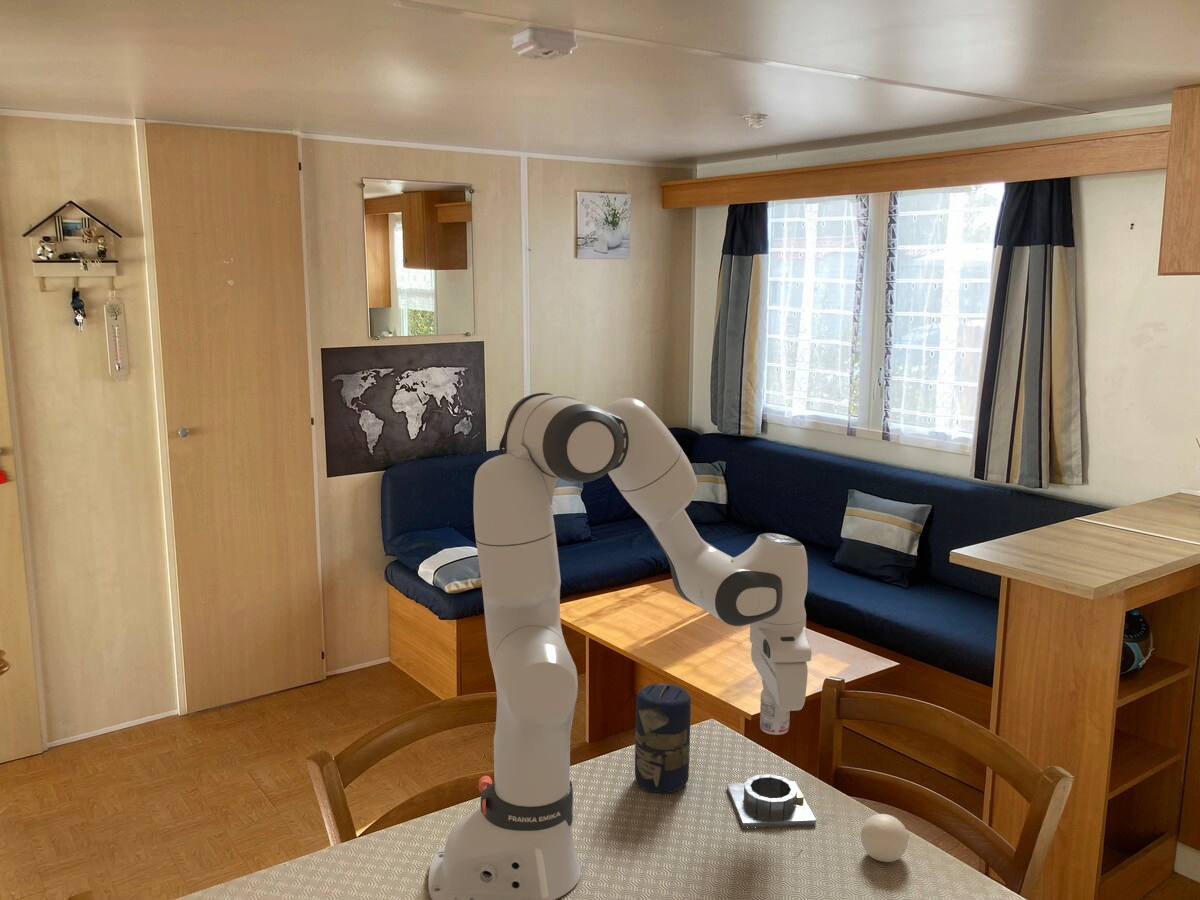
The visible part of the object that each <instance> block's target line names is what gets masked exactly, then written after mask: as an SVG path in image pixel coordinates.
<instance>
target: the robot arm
mask: <svg viewBox="0 0 1200 900" xmlns="http://www.w3.org/2000/svg"><path fill="white" fill-rule="evenodd" d="M505 421H506V422H505V426H504V432H503V435H502V437H501V440H500V443H499V445H498V446H499V447H498V448H499V449H498V450H499V453H500V454H499V455H496V456H493V457H491V458H489V459H488V460H486V461H485V462H484V463H482V464H481V465H480V466H479V467H478V469H477V471H476V473H475V476H474V483H473V503H472V504H473V524H474V525H473V526H474V534H475V535H474V536H475V544H476V552H477V559H478V564H479V572H480V573H479V574H480V580H481V581H480V582H481V589H482V599H483V609H484V610H483V611H484V618H485V619H484V620H485V621H484V622H485V629H486V639H487V640H486V641H487V647H488V648H487V650H488V656H489V659H490V663H491V668H492V671H493V676H494V681H495V688H496V719H495V728H494V729H495V730H494V735H493V768H494V769H493V770H494V771H493V774H494V775H493V776H494V779H493V780H494V781H493V780H492V778H491V777H490V776H489V775H483V776H481V777H480V779H479V780H478V791H479V793H480V806H478V808H475V810H473V811H472V812H470V813H469V814H467V815H465V816H464V817H462V818H461V819H459V820H457V821H456V822H455V823H454V824H453V826H452V827H451V830H450V831H449V834H448V836H447V839H446V842H445V845H443V846H442V847H441V848H439V849H438V850H437V852H436V853H435V855H434V856H433V858H432V861H431V862H430V866H429V870H428V871H429V872H428V880H427V887H428V888H427V889H428V894H429V896H430V899H431V900H556V899H559V898H561V897H563V896H564V895H566V894H567V893H569V892H570V891H571V890H573V888H575V886H576V885H577V884H578V883H579V880H580V878H581V873H582V868H581V865H580V862H579V861H580V860H579V858H578V855H577V852H576V847H575V841H574V835H573V827H572V823H573V821H574V820H573V819H574V812H575V811H574V809H575V807H574V805H575V804H574V801H575V799H574V795H575V793H574V788H573V783H572V781H571V763H570V762H571V746H570V745H571V734H572V733H571V731H572V725H573V719H574V714H575V707H576V706H575V705H576V703H577V702H576V701H577V699H578V687H579V685H578V672H577V671H578V670H577V667H576V663H575V662H574V660H573V657H572V654H571V653H570V651H569V648H568V646H567V644H566V640H565V638H564V637H565V636H564V635H563V630H562V622H561V621H562V620H561V603H560V602H561V599H560V598H561V586H562V585H561V584H562V579H561V571H560V569H561V568H560V563H559V562H560V561H559V552H558V543H557V535H556V528H555V527H556V526H555V519H554V515H553V514H554V513H553V508H552V505H553V497H554V491H555V488H556V485H557V484H558V481H559V480H560V479H561V480H563V481H566V482H569V483H574V484H576V483H577V484H579V483H580V484H582V483H588V482H592V481H596V480H598V479H600V478H603V476H605V475H607V474H608V476H609V478H610V479H611V481H612V483H614V485H615V486H616V488H617V489H618V491H619V493H620V494H621V496H623V498H624V499H625V501H627V503H629V506H631V508H632V509H633V510H634V511H635V512H636V513H637V514H638V515H639V516H640V517H641V518H642V519H643V520H644V522H645V523H646V524H647V526H648V528H649V530H650V531H651V532H652V534H653V536H654V538H655V540H656V541H657V543H658V544H659V546H660V547H661V549H662V551H663V552H664V554H665V556H666V558H667V561H668V564H669V568H670V573H671V580H672V583H673V586H674V589H675V591H676V592H677V594H678V595H679V596H680V597H681V598H682V599H683V600H685V601H687V602H689V603H691V604H693V605H695V606H697V607H699V608H700V609H702V610H703V611H705V612H707V613H708V614H709V615H712V616H713V617H714V618H716V619H717V620H718V621H721V622H723V623H725V624H727V625H730V626H734V627H742V626H748V625H749V642H750V643H751V649H750V651H751V652H750V657H751V662H752V664H753V665H754V667H755V669H756V670H757V673H758V674H759V675H760V678H761V683H762V685H763V680H764V681H765V683H766V686H767V688H768V689H769V691H770V693H771V694H772V696H773V698H774V700H775V702H776V703H775V708H773V717H774V719H775V721H777V722H784V721H786V712H787V711H790V712H792V711H800V710H802V709H803V707H804V706H805V702H806V695H807V685H808V684H807V683H808V663H807V662H811V661H812V655H813V654H812V651H813V650H812V647H811V644H810V642H809V639H808V635H807V634H808V633H807V613H806V612H807V611H806V607H805V600H806V596H807V592H808V584H809V583H808V578H809V577H808V574H809V570H808V567H809V566H808V557H807V556H808V555H807V551H806V548H805V546H804V545H803V543H802V542H800V541H799V540H798V539H795V538H793V537H790V536H788V535H784V534H780V533H774V532H773V533H772V532H764V533H761V534H759V535H758V536H757V537H756V539H755V541H754V542H753V544H751V546H749V548H747V549H746V550H745V551H743V552H742V553H740V554H739V555H737V556H733V557H732V556H731V555H729V554H727V553H725V552H723V550H721V549H720V548H718V547H716V546H714V545H713V544H711V543H709V542H707V541H705V540H704V539H703V538H702V536H700V534H699V532H698V531H697V529H696V527H695V526H694V524H693V522H692V520H691V519H690V516H689V515H688V513H687V511H686V510H685V509H686V508H687V507H688V506H689V505H690V503H692V501H693V499H694V496H695V495H696V492H697V488H698V479H697V476H696V474H695V472H694V468H693V466H692V464H691V462H690V459H689V458H688V456H687V455H686V453H685V452H684V450H683V448H682V447H681V445H680V444H679V442H678V441H677V440H676V438H675V437H674V435H673V433H671V431H670V430H669V428H667V426H666V425H665V424H664V422H663V421H662V420H661V419H660V417H658V415H656V413H655V412H654V411H653V410H652V409H651V408H650V407H649V406H647V404H646V403H644V402H643V401H641V400H639V399H638V398H633V397H623V398H619V399H615V400H612V401H611V402H609V403H608V404H606V405H605V406H603V407H602V408H599V407H597V406H595V405H592V404H587V403H584V402H582V401H579V400H578V399H576V398H574V397H571V396H568V395H560V394H553V393H550V392H538V393H533V394H530V395H527V396H525V397H523V398H521V399H520V400H519V401H517V402H516V403H515V405H513V407H512V408H511V410H510V411H509V413H508V416H507V419H506V420H505ZM503 449H504V450H503ZM504 452H505V453H504Z"/></svg>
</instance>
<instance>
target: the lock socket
mask: <svg viewBox="0 0 1200 900" xmlns="http://www.w3.org/2000/svg"><path fill="white" fill-rule="evenodd" d="M726 790H727V793H728V795H729V797H731V798H730V800H731V803H732V802H733V803H732V806H733V808H734V807H735V808H734V810H735V809H736V810H735V812H737V813H736V815H737V818H738V817H739V818H738V820H739V819H740V820H739V822H741V823H740V825H741V824H742V825H741V827H743V828H747V827H748V828H749V829H758V828H757V827H771V828H790V827H789V826H794V827H811V826H812V825H816V823H817V820H816V817H815V816H814V814H813V812H812V810H811V808H810V807H809V804H808V803H807V801H806V799H805V797H804V794H803V793H802V792H801V789H800V788H799V786H798V784H797V782H796V781H795V780H789V779H788V778H786V777H784V776H780V775H776V774H769V773H767V774H755V775H754V776H751V777H748V778H747V780H746V781H745V782H739V783H735V782H734V783H733V782H732V783H727V784H726ZM810 825H811V826H810ZM755 827H756V828H755ZM743 828H742V829H743Z"/></svg>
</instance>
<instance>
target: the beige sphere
mask: <svg viewBox="0 0 1200 900" xmlns="http://www.w3.org/2000/svg"><path fill="white" fill-rule="evenodd" d="M906 829H907V827H905V825H904V824H903V823H902V822H901V821H900V820H899V819H898V818H897V817H895V816H893V815H890V814H886V813H878V814H877V813H876V814H874V815H871V816H870V817H869V818H867V819H866V820H865V822H864V823H863V824H862V826H861V830H860V842H861V844H862V847H863V849H864V850H865V852H866V853H867V854H868V855H869V856H870V857H871V858H873V859H874V860H876V861H878V862H881V863H882V862H883V863H892V862H893V863H894V862H895V861H897V860H899V859H900V858H901V857H902V856H903V855H904V854H905V853H906V850H907V848H908V844H909V838H910V836H909V832H908V831H907V830H906Z"/></svg>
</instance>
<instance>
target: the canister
mask: <svg viewBox="0 0 1200 900" xmlns="http://www.w3.org/2000/svg"><path fill="white" fill-rule="evenodd" d="M635 704H636V705H635V708H636V709H635V735H634V738H635V739H634V776H635V780H636V781H637V783H638V784H639V786H641V787H642V788H644V789H646V790H648V791H651V792H655V793H672V792H676V791H678V790H681V789H682V788H684V787H685V786H686V784H687V783H688V781H689V777H690V749H691V747H690V746H691V716H692V715H691V713H692V711H691V710H692V697H691V695H690V693H689V692H688V691H687V690H686V689H685V688H683V687H681V686H679V685H675V684H672V683H665V682H664V683H652V684H648V685H645V686H643V687H642V688H641V689H639V691H638V692H637V694H636V702H635Z"/></svg>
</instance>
